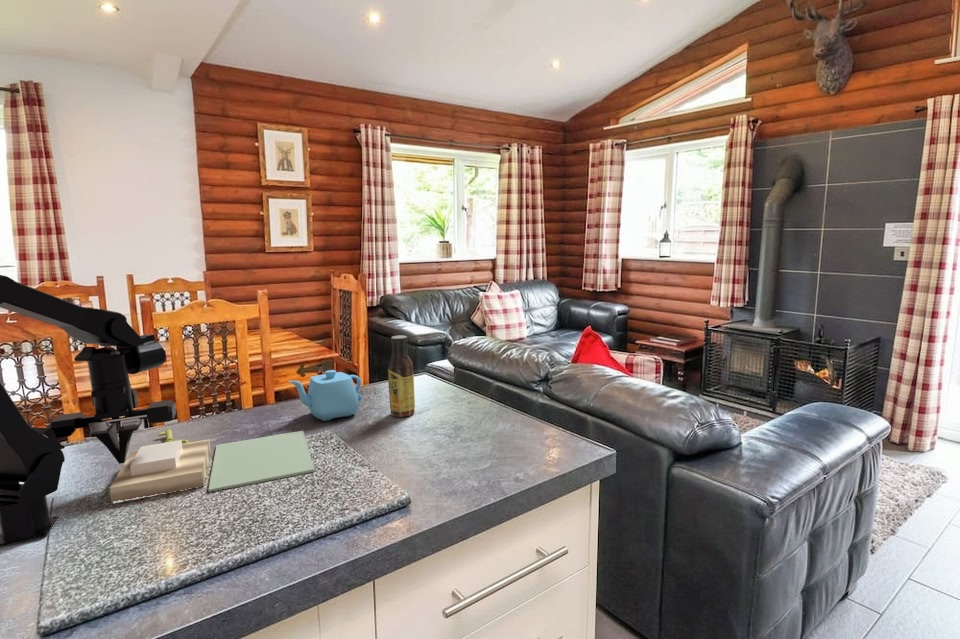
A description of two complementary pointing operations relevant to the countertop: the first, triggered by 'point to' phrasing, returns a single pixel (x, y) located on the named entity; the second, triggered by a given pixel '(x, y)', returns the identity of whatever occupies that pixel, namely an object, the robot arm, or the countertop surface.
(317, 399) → the teapot
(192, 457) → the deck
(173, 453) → the white flat block
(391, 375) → the sauce bottle
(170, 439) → the key
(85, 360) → the robot arm
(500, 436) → the countertop surface
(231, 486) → the mat
